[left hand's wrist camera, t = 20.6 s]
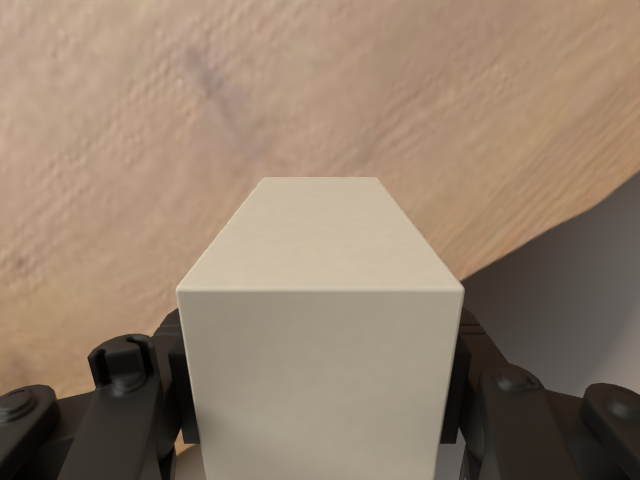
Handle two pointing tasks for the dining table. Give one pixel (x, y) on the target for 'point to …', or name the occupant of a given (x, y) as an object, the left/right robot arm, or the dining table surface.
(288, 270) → the block
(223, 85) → the dining table surface
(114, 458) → the left robot arm
